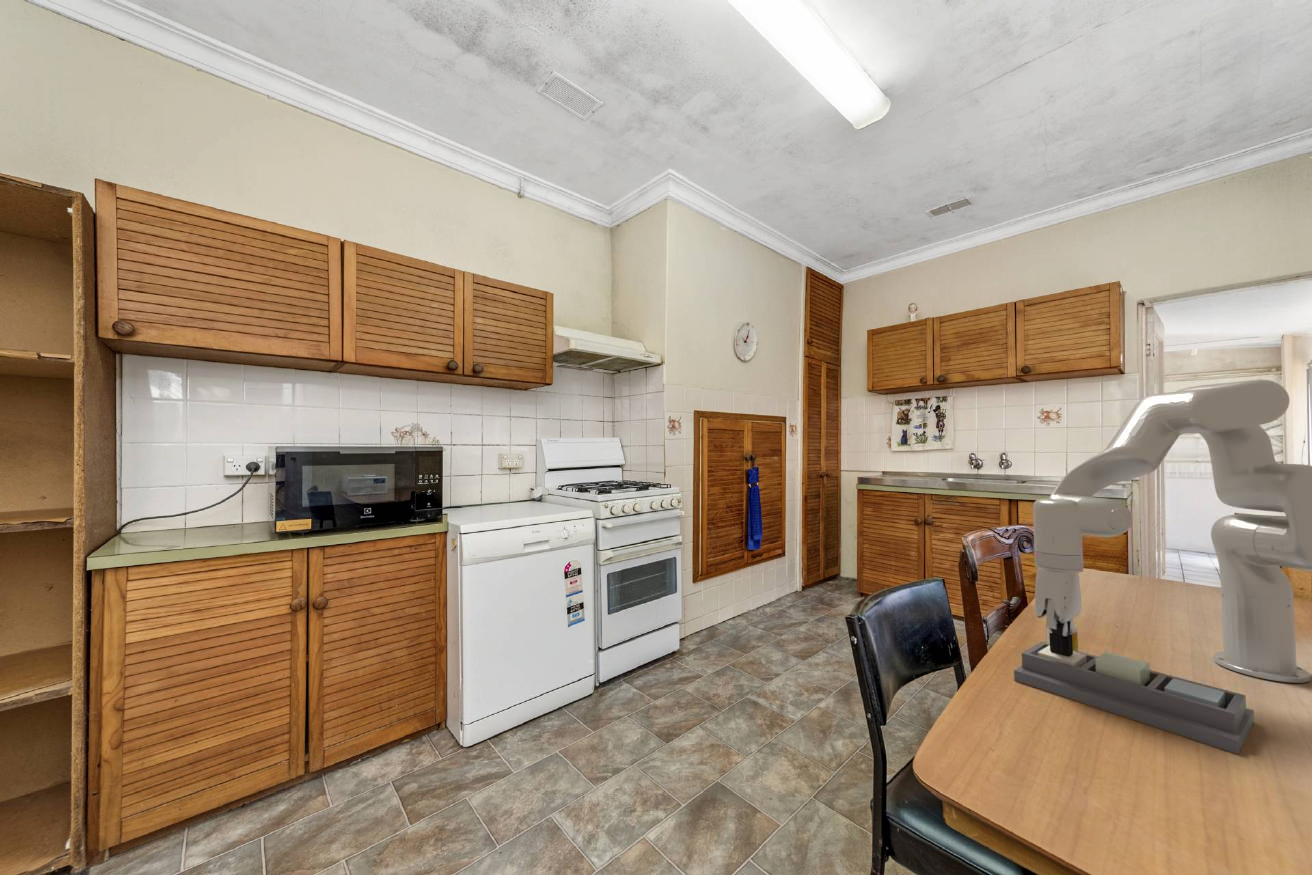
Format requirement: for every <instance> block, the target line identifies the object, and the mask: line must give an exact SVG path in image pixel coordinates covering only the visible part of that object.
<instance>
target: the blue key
mask: <svg viewBox="0 0 1312 875" xmlns="http://www.w3.org/2000/svg"><path fill="white" fill-rule="evenodd" d="M1164 690H1165V692H1167V693H1170V694H1174V695H1178V696H1181V697H1185V698H1188V699H1192V700H1195V701H1199V702H1202V703H1206V704H1209V705H1213V706H1216V707H1220V708H1223V709H1226V708H1225V692H1223V691H1219V690H1216V689H1212V688H1208V687H1204V686H1201V685H1197V684H1193V683H1189V682H1186V681H1182V680H1178V679H1174V678H1173V679H1172V680H1171V681H1170V682H1169V683H1168V684H1167V686H1166V687H1165V688H1164Z"/></svg>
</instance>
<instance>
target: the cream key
mask: <svg viewBox="0 0 1312 875" xmlns="http://www.w3.org/2000/svg"><path fill="white" fill-rule="evenodd" d="M1038 656H1040V657H1044V658H1047V659H1051V660H1055V661H1058V662H1062V663H1065V664H1069V665H1072V666H1076V667H1079V668H1081V667H1082V666H1083V665H1085V664H1086V663H1087V658H1086V655H1084V654H1080V653H1077V652H1073V655H1071V656H1070V657H1067V656H1063V655H1060V654H1056V653H1052V652H1051V651H1050V645H1049V646H1047V647H1046V648H1044V649H1042V650H1040V651H1039V652H1038Z"/></svg>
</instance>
